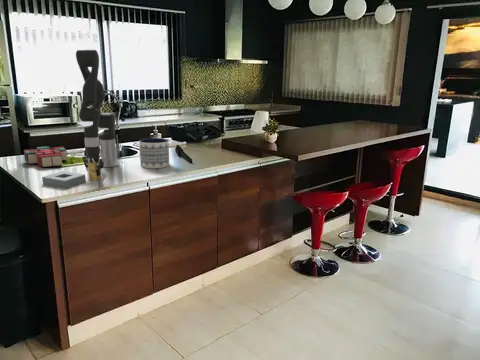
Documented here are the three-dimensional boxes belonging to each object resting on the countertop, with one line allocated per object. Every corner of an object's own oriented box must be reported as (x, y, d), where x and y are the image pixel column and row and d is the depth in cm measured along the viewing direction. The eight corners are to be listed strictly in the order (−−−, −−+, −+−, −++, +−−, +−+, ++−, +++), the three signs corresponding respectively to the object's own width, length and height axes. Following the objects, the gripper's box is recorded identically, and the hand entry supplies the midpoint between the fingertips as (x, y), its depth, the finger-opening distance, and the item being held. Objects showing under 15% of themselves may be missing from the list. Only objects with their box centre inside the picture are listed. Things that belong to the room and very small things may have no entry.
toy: (73, 167, 250) (62, 156, 273) (72, 152, 247) (61, 143, 270) (31, 172, 236) (23, 160, 259) (29, 157, 233) (21, 146, 256)
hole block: (63, 178, 220) (63, 171, 219) (85, 181, 214) (85, 174, 213) (42, 184, 207) (42, 177, 206) (65, 188, 201) (64, 180, 200)
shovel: (194, 164, 261) (194, 153, 259) (188, 164, 259) (188, 153, 257) (178, 153, 291) (178, 143, 289) (173, 154, 290) (173, 143, 288)
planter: (137, 168, 245) (135, 142, 240) (145, 161, 262) (143, 137, 258) (165, 169, 244) (164, 143, 240) (171, 162, 262) (171, 138, 257)
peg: (94, 177, 221) (93, 160, 219) (101, 178, 220) (99, 161, 217) (89, 179, 217) (87, 162, 215) (95, 180, 216) (94, 163, 213)
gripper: (107, 145, 214) (109, 175, 219) (87, 142, 219) (89, 172, 224) (97, 147, 207) (100, 178, 212) (77, 145, 213) (79, 175, 217)
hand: (94, 175), depth 218 cm, fingers closed on peg, 4 cm apart
